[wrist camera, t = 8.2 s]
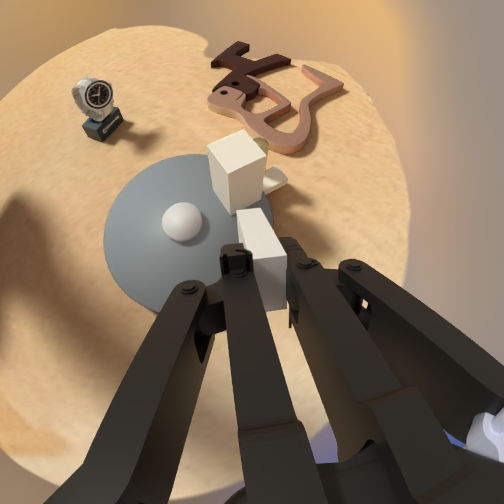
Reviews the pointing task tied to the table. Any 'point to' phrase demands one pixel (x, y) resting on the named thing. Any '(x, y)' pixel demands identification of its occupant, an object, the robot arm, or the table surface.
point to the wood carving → (247, 87)
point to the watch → (97, 107)
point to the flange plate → (185, 217)
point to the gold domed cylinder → (262, 145)
